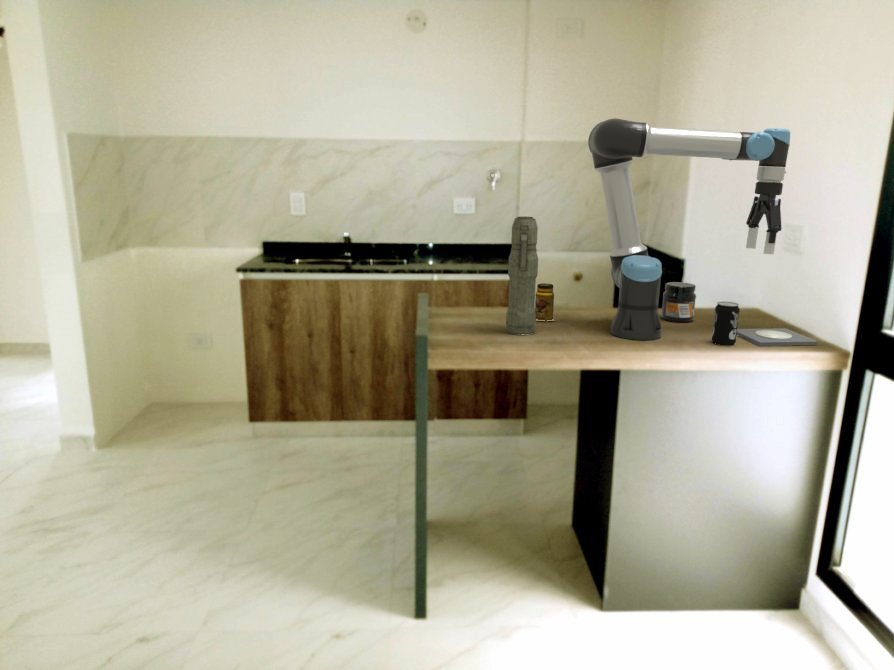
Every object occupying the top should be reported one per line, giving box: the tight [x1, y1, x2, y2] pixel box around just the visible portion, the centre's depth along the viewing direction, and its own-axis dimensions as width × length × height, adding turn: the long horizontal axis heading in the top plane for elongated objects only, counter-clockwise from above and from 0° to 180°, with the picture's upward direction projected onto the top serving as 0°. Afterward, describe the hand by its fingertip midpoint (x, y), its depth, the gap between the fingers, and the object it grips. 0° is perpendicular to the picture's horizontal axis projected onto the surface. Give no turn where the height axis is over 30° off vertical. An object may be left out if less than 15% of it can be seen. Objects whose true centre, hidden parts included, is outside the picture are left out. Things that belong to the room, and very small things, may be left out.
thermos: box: [505, 216, 539, 336], centre depth 205 cm, size 9×12×35 cm
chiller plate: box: [736, 327, 819, 347], centre depth 205 cm, size 18×16×2 cm
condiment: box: [534, 282, 555, 321], centre depth 225 cm, size 7×8×12 cm
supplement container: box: [660, 281, 697, 323], centre depth 227 cm, size 10×10×12 cm
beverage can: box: [711, 301, 740, 346], centre depth 198 cm, size 7×7×12 cm
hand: (759, 251), depth 212 cm, fingers open, 13 cm apart
